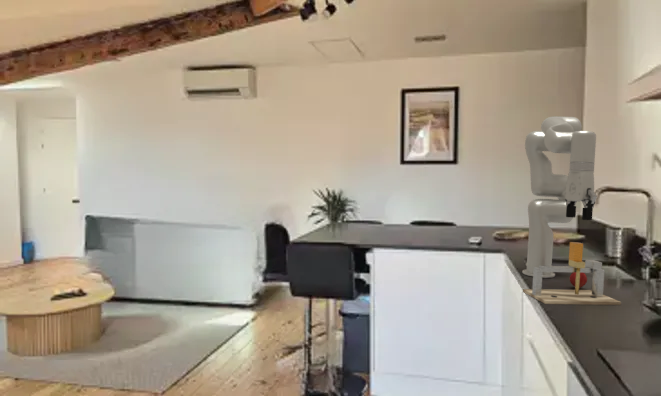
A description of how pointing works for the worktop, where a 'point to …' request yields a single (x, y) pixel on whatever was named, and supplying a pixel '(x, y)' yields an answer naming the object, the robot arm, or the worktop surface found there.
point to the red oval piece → (582, 279)
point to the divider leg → (576, 261)
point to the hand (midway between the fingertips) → (578, 218)
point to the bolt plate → (571, 297)
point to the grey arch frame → (590, 267)
